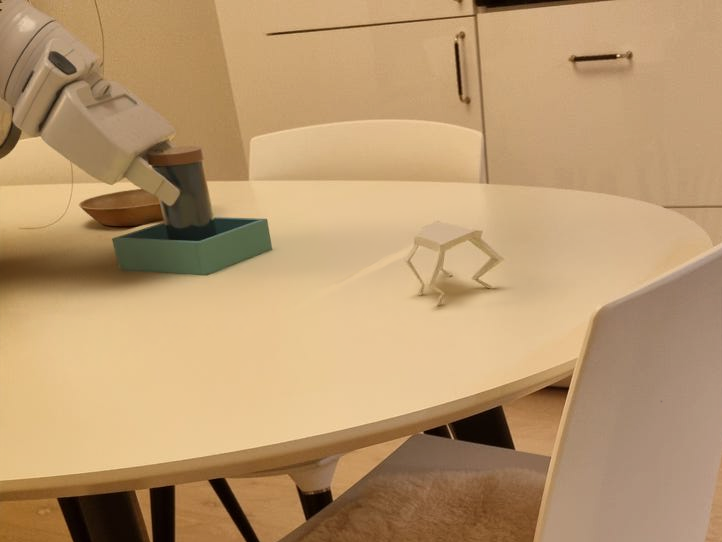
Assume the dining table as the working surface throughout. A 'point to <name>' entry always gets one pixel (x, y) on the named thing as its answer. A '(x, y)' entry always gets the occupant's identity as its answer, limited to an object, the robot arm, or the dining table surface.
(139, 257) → the green shallow square box
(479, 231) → the cream legged block
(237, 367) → the dining table surface
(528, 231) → the dining table surface
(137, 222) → the plant saucer
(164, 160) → the jar
